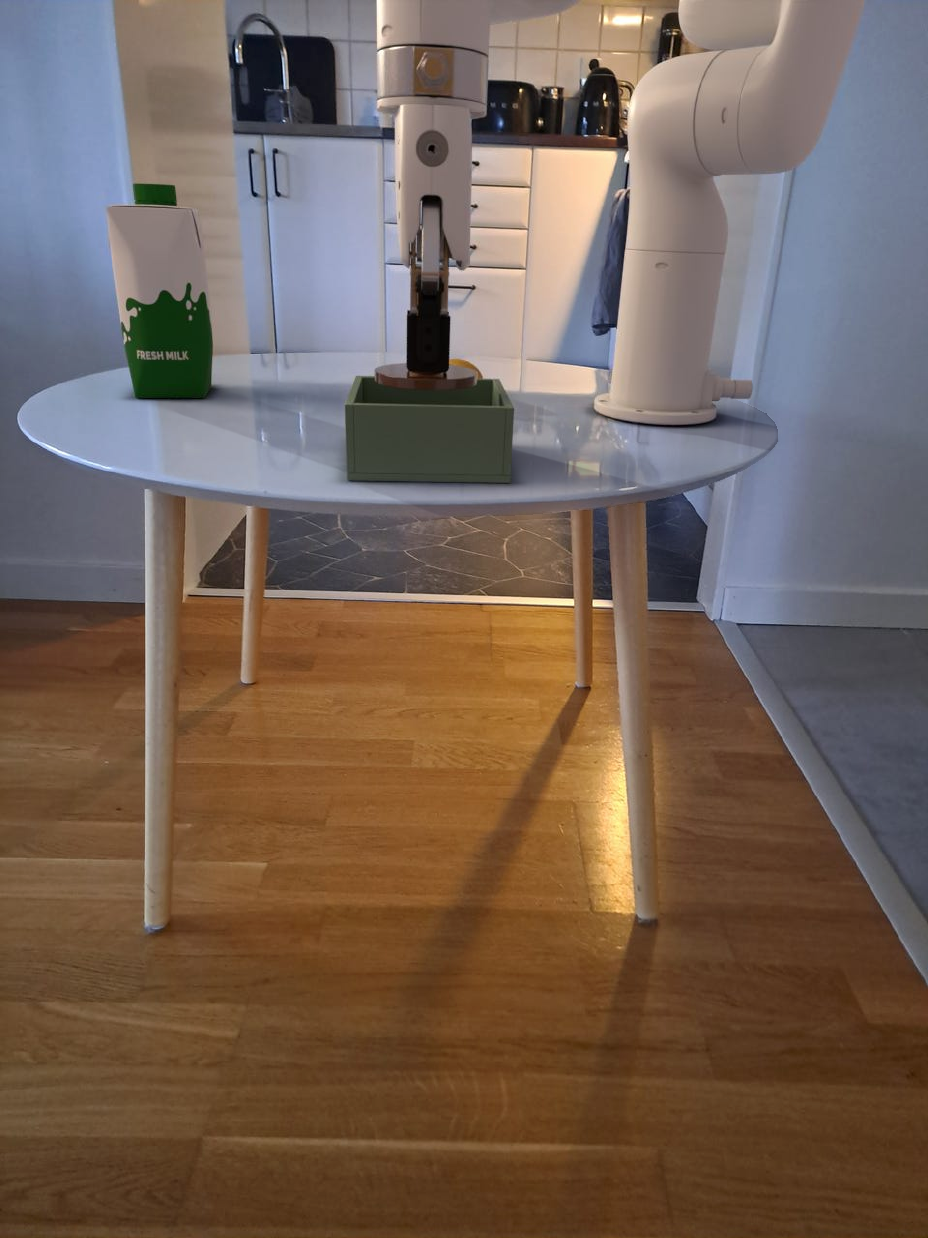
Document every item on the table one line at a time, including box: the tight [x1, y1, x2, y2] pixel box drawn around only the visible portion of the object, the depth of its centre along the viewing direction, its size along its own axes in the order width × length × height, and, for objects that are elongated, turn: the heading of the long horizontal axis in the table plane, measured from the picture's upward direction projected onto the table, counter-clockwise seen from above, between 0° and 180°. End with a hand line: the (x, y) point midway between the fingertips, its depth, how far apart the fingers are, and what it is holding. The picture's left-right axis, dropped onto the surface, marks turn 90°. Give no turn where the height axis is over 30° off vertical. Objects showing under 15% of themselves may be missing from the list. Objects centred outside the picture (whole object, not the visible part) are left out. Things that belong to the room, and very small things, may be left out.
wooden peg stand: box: [374, 293, 478, 391], centre depth 64 cm, size 8×8×6 cm
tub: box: [344, 375, 515, 484], centre depth 67 cm, size 12×12×6 cm
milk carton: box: [105, 182, 214, 399], centre depth 86 cm, size 9×9×20 cm
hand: (427, 365), depth 65 cm, fingers closed on wooden peg stand, 2 cm apart
